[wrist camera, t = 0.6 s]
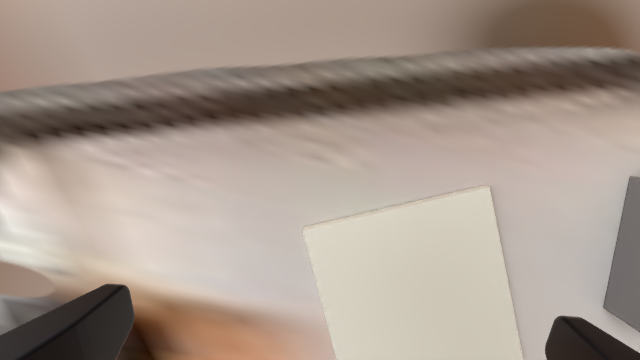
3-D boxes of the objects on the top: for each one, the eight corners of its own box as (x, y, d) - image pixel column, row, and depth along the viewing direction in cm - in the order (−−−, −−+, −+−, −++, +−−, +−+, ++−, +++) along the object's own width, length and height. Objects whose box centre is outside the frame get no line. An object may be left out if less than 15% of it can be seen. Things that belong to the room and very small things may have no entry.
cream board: (517, 354, 22) (523, 362, 21) (345, 385, 23) (345, 395, 22) (483, 185, 20) (489, 187, 19) (303, 227, 21) (301, 230, 20)
